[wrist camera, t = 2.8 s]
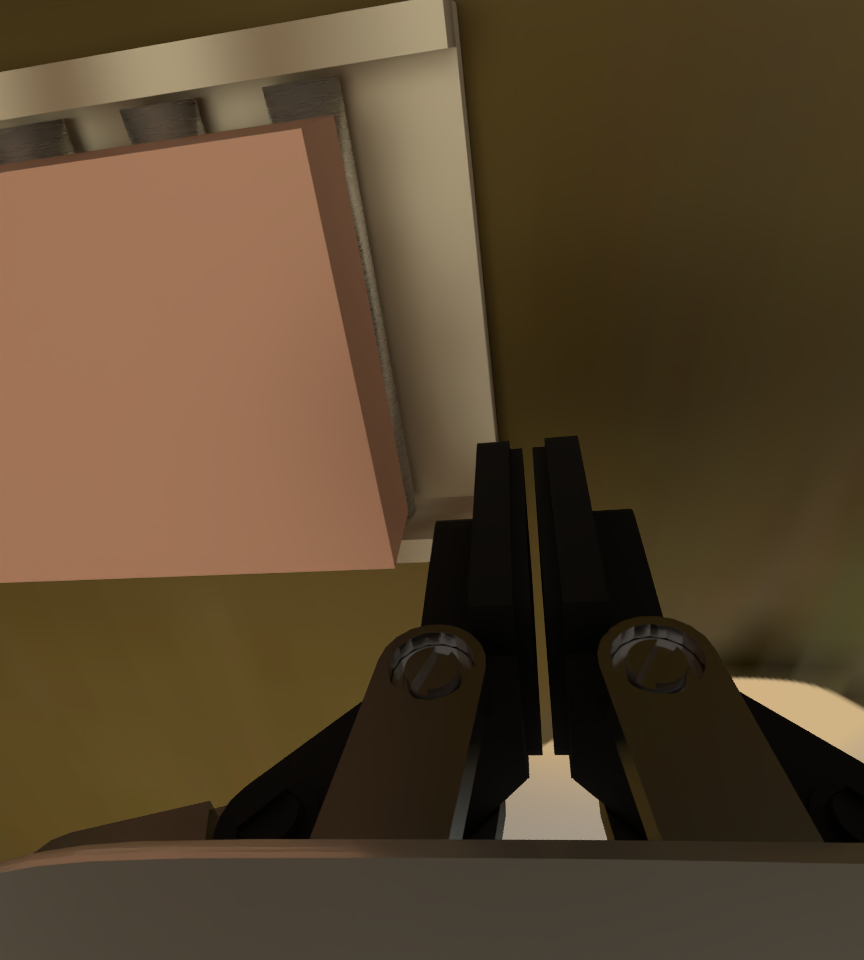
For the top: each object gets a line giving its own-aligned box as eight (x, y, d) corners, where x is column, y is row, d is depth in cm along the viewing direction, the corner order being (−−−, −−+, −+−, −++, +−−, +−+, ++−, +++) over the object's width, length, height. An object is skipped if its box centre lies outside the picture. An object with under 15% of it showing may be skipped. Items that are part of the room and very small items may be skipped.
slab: (333, 115, 17) (301, 128, 14) (408, 510, 23) (395, 568, 21) (-147, 186, 19) (-247, 209, 17) (40, 529, 25) (-12, 583, 23)
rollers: (346, 73, 18) (328, 77, 17) (419, 494, 25) (412, 526, 24) (-415, 194, 23) (-490, 207, 21) (-168, 526, 30) (-209, 555, 28)
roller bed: (456, 2, 18) (441, -5, 15) (503, 494, 27) (501, 559, 24) (-461, 160, 24) (-621, 181, 20) (-180, 530, 32) (-261, 587, 29)
